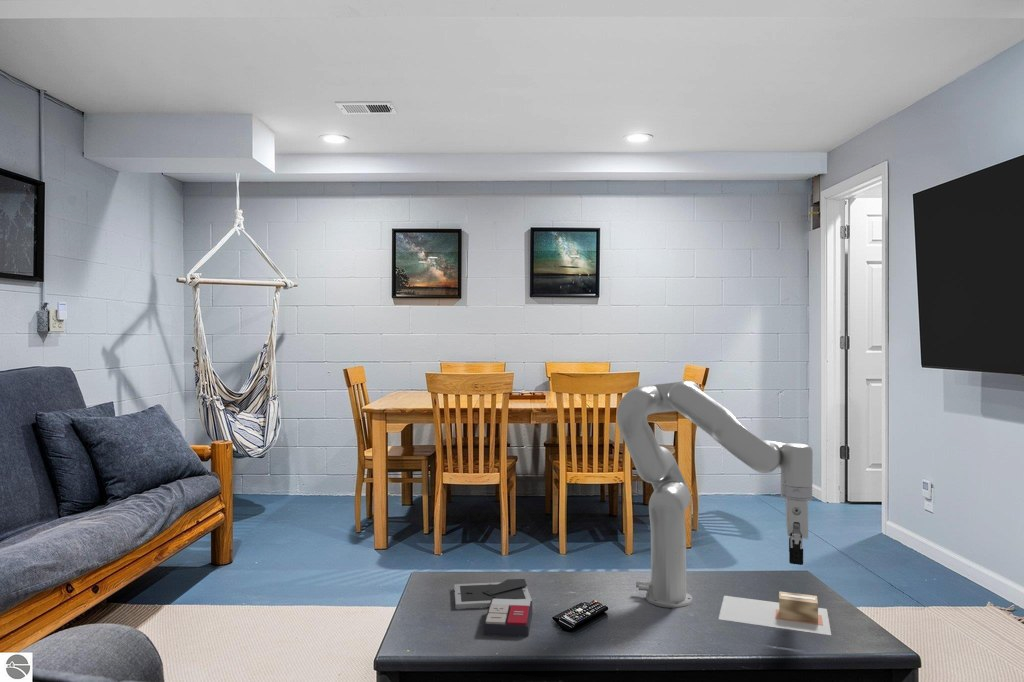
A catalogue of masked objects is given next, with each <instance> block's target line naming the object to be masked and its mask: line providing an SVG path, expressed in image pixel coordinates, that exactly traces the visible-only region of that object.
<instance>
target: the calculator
mask: <svg viewBox="0 0 1024 682" xmlns="http://www.w3.org/2000/svg"><path fill="white" fill-rule="evenodd" d="M487 609H488V610H487V612H486V614H485V619H484V621H483V624H482V625H483V627H482V628H483V635H484V636H493V635H497V636H500V637H501V636H502V637H518V636H522V637H523V638H524V637H525V638H527V637H529V635H530V628H531V623H532V618H533V600H532V601H530V600H519V599H492V600H491V602H490V605H489V608H487Z"/></svg>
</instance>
